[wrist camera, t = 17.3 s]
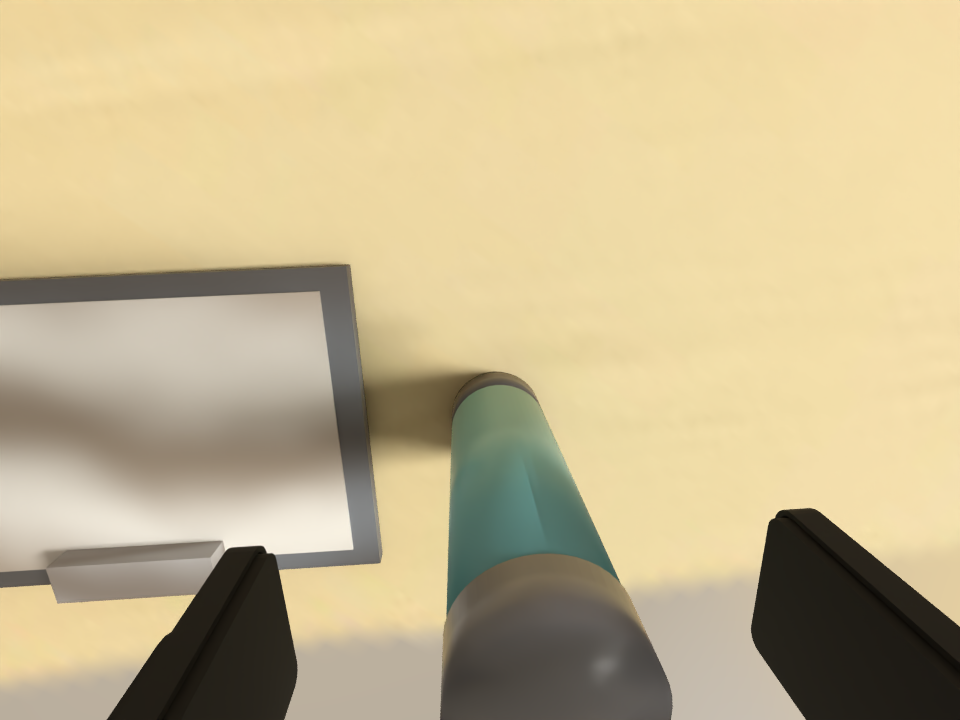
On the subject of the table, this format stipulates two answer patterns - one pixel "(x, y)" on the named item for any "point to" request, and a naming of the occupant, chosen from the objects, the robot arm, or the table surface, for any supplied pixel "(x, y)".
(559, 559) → the marker
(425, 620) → the table surface
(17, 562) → the clipboard
